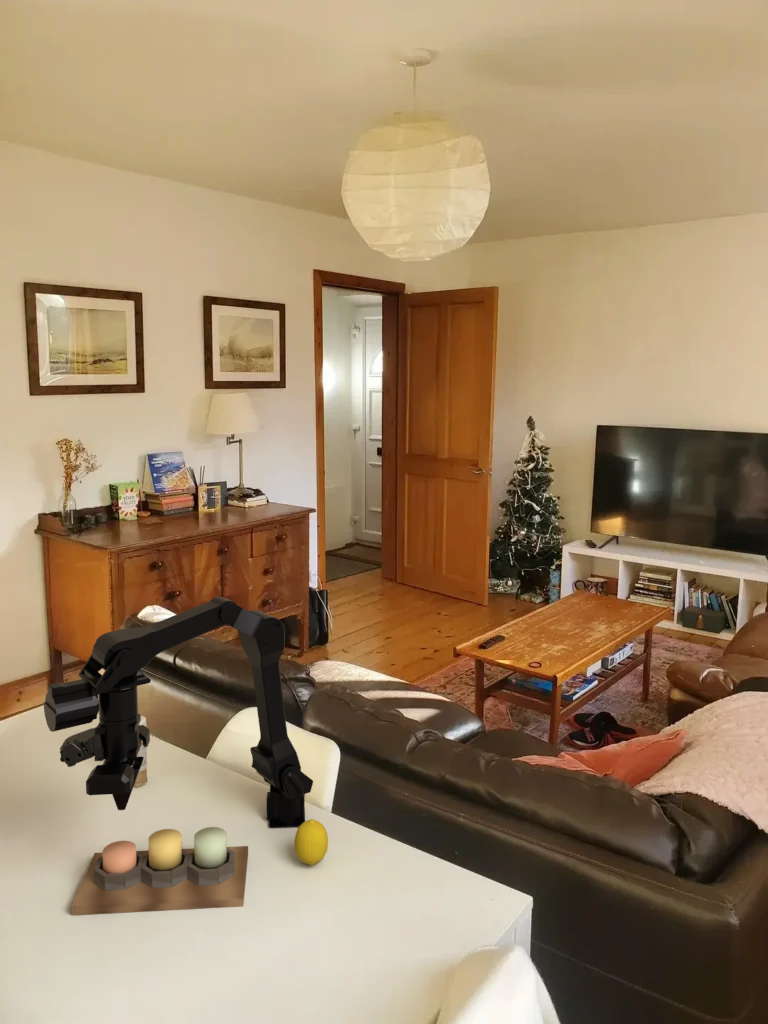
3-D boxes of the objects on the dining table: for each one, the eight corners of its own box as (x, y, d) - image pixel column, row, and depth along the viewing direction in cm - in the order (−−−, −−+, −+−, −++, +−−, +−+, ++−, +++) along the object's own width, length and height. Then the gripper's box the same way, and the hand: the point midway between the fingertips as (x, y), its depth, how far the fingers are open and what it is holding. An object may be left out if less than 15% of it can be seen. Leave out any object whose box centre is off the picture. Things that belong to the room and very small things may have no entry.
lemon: (322, 876, 128) (323, 830, 127) (289, 872, 129) (290, 826, 128) (331, 858, 133) (332, 813, 132) (300, 853, 134) (300, 809, 133)
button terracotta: (139, 863, 127) (138, 839, 126) (133, 881, 122) (132, 857, 122) (107, 864, 126) (106, 841, 126) (99, 883, 122) (99, 859, 121)
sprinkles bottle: (142, 775, 161) (140, 712, 159) (151, 784, 157) (150, 719, 155) (120, 782, 158) (118, 717, 156) (128, 791, 154) (127, 725, 152)
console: (248, 854, 134) (248, 833, 133) (243, 906, 120) (243, 883, 119) (94, 861, 131) (94, 839, 130) (71, 915, 117) (71, 891, 116)
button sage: (227, 849, 128) (227, 826, 128) (225, 867, 124) (225, 843, 123) (196, 850, 128) (196, 827, 127) (192, 868, 123) (192, 844, 122)
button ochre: (183, 851, 128) (183, 828, 127) (179, 869, 123) (179, 845, 122) (152, 852, 127) (151, 829, 126) (146, 871, 122) (145, 846, 122)
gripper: (79, 694, 131) (83, 783, 133) (46, 742, 112) (51, 844, 115) (149, 692, 132) (151, 780, 134) (127, 739, 114) (131, 840, 116)
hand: (121, 809), depth 125 cm, fingers closed
